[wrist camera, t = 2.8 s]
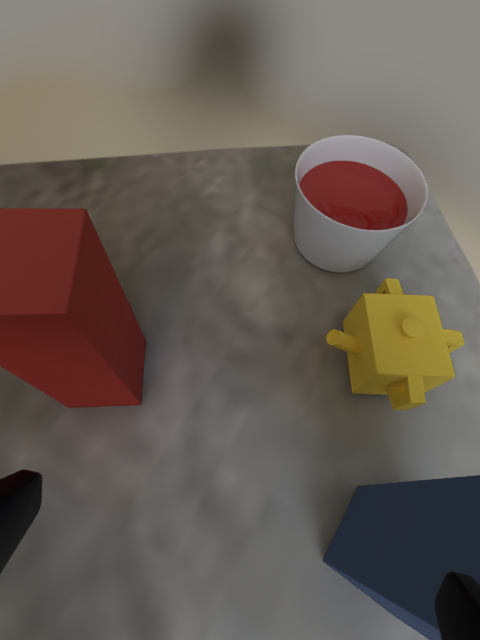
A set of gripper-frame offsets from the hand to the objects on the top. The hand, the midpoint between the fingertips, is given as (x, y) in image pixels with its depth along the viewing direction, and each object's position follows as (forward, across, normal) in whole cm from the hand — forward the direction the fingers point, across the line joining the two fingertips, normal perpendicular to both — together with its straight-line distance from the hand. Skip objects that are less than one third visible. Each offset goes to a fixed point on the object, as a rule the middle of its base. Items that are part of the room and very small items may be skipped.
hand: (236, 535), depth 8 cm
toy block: (+18, -8, +1) cm, 20 cm away
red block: (+15, +9, +5) cm, 18 cm away
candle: (+25, -4, -6) cm, 26 cm away
